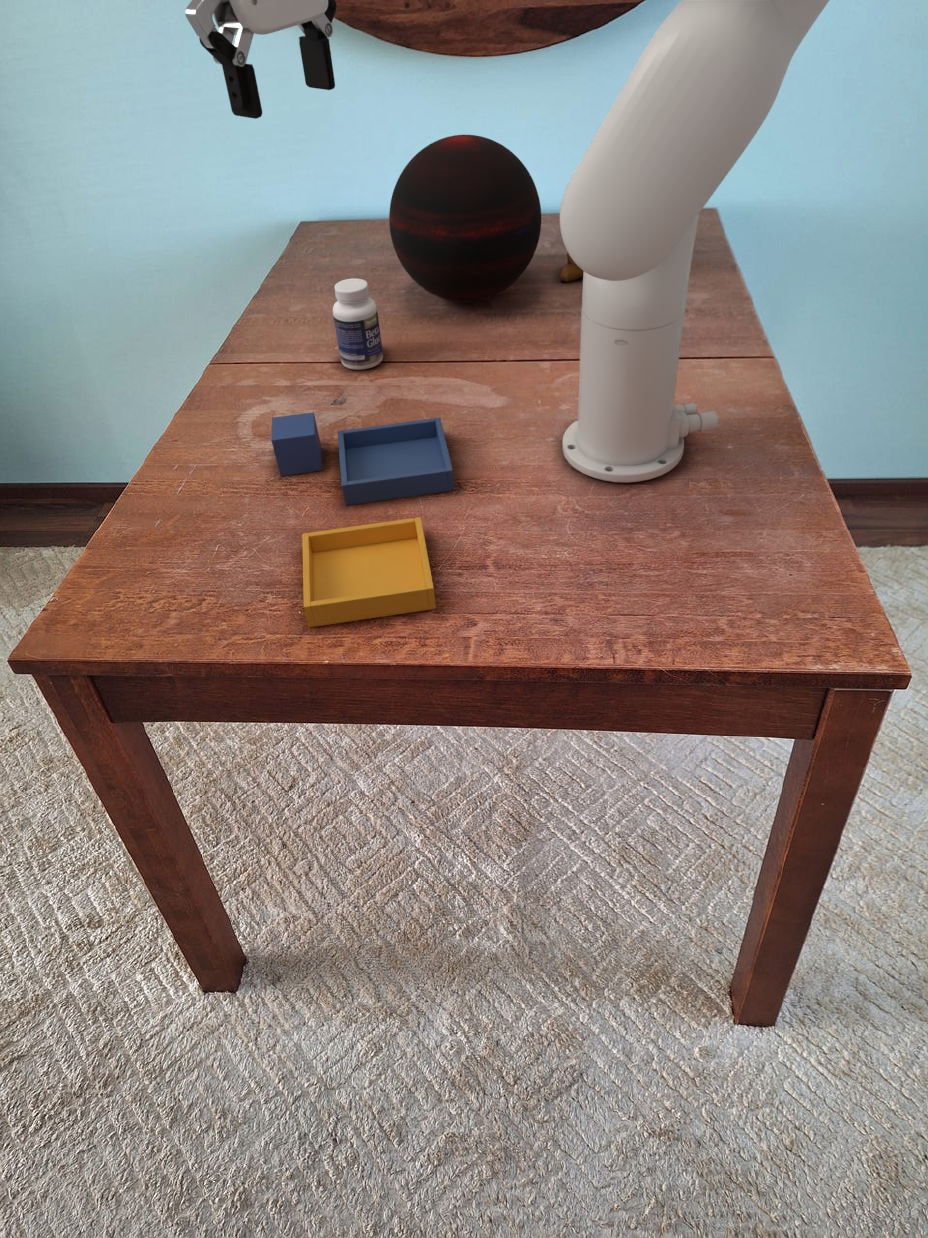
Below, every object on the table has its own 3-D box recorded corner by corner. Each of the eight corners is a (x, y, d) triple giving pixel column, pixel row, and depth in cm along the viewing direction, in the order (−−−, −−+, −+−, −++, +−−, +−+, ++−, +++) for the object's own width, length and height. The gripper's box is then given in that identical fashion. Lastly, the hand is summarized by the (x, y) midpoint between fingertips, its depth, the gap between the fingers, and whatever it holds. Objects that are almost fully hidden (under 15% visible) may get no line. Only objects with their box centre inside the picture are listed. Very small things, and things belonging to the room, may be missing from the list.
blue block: (321, 447, 96) (313, 411, 92) (322, 470, 92) (314, 434, 89) (280, 453, 95) (271, 417, 92) (280, 476, 92) (271, 440, 89)
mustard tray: (423, 537, 83) (420, 516, 81) (436, 608, 76) (433, 588, 74) (307, 553, 83) (302, 533, 81) (309, 627, 75) (303, 607, 74)
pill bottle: (377, 372, 107) (366, 295, 100) (336, 370, 108) (322, 294, 101) (388, 351, 111) (378, 275, 104) (348, 349, 112) (336, 274, 105)
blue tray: (442, 436, 96) (440, 417, 94) (454, 490, 88) (452, 470, 87) (341, 450, 95) (337, 430, 93) (345, 505, 88) (341, 485, 86)
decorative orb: (383, 326, 116) (361, 165, 102) (415, 265, 130) (400, 115, 116) (532, 330, 112) (530, 163, 98) (548, 266, 126) (549, 112, 112)
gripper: (191, -139, 60) (247, 133, 72) (351, -161, 70) (376, 81, 82) (121, -138, 63) (186, 122, 75) (283, -159, 73) (317, 74, 85)
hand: (285, 101), depth 79 cm, fingers open, 9 cm apart
